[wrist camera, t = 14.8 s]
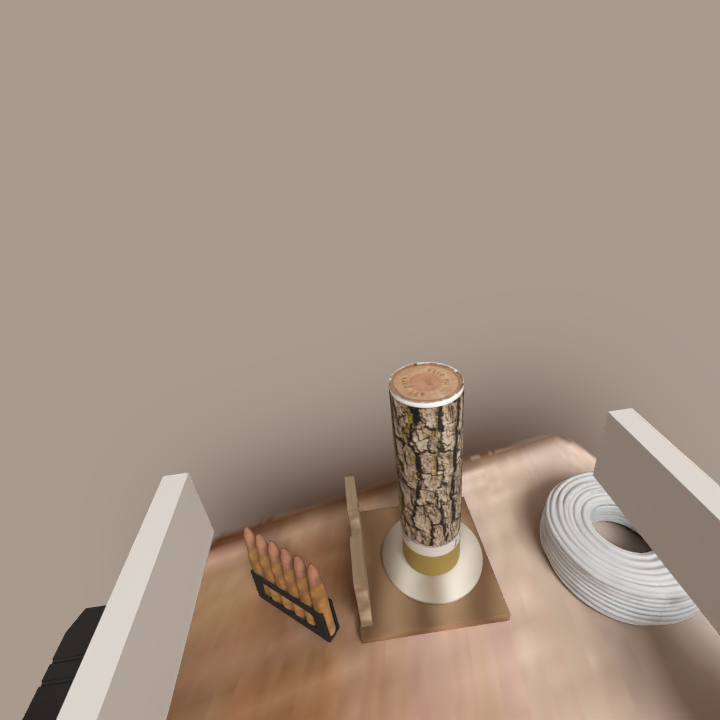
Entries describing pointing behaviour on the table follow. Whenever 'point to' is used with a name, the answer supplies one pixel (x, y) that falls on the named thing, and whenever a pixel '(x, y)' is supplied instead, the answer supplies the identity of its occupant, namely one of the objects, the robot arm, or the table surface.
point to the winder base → (416, 579)
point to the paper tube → (428, 462)
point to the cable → (607, 559)
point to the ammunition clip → (291, 586)
